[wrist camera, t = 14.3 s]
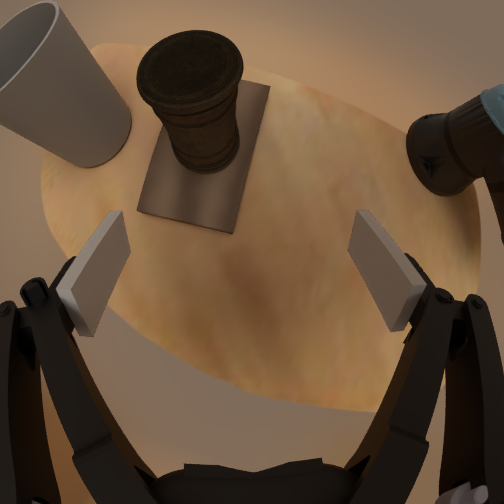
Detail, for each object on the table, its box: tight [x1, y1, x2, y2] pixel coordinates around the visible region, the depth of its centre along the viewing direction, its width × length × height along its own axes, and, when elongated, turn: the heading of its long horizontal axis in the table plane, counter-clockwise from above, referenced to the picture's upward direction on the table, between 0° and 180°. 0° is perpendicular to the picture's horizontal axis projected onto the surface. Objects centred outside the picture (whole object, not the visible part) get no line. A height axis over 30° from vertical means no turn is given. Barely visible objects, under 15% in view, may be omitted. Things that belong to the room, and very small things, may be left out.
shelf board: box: [137, 80, 271, 234], centre depth 37 cm, size 13×22×3 cm, turn 167°
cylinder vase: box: [0, 0, 131, 168], centre depth 25 cm, size 12×12×25 cm
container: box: [136, 30, 243, 174], centre depth 27 cm, size 9×9×18 cm
